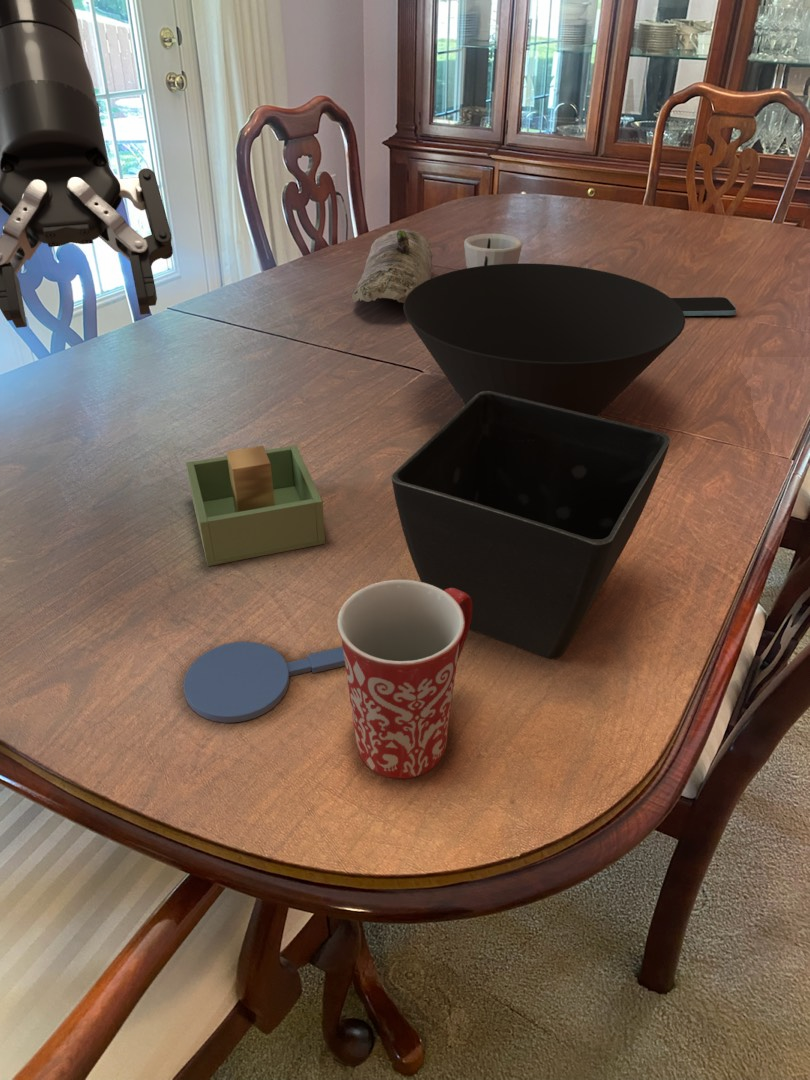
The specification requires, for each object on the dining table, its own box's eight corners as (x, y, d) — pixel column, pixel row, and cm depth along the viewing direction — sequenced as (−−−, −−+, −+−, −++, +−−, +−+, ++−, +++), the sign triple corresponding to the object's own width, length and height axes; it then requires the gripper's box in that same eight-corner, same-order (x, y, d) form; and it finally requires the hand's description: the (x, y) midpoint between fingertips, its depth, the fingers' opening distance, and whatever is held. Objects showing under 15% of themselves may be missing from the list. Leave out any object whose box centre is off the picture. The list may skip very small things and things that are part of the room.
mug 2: (462, 305, 147) (464, 249, 141) (460, 279, 159) (462, 226, 153) (520, 306, 147) (525, 250, 141) (514, 279, 159) (518, 226, 153)
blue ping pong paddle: (191, 734, 66) (189, 727, 66) (179, 660, 73) (178, 654, 73) (400, 683, 71) (400, 677, 71) (371, 618, 78) (370, 612, 78)
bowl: (514, 510, 93) (525, 390, 84) (355, 395, 117) (352, 292, 108) (719, 429, 109) (746, 320, 100) (542, 342, 133) (552, 249, 124)
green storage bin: (207, 566, 85) (199, 523, 81) (193, 503, 94) (185, 462, 91) (325, 543, 88) (322, 501, 85) (299, 485, 97) (296, 444, 94)
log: (349, 272, 133) (366, 204, 155) (347, 336, 141) (363, 262, 163) (433, 281, 133) (438, 212, 155) (426, 344, 141) (431, 269, 163)
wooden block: (241, 532, 89) (232, 469, 84) (235, 513, 92) (226, 451, 87) (277, 525, 90) (270, 462, 85) (270, 506, 93) (263, 445, 88)
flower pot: (580, 701, 69) (609, 542, 59) (388, 628, 77) (385, 476, 67) (642, 579, 83) (674, 433, 73) (473, 528, 90) (482, 388, 80)
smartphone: (642, 297, 148) (726, 296, 147) (642, 303, 148) (725, 302, 148) (651, 312, 142) (738, 310, 141) (650, 318, 143) (737, 316, 142)
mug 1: (405, 811, 60) (406, 683, 53) (321, 747, 65) (310, 620, 57) (506, 715, 68) (519, 590, 60) (424, 664, 73) (426, 542, 65)
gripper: (-78, 79, 55) (-41, 303, 53) (140, 72, 58) (182, 280, 56) (-44, 151, 62) (-11, 350, 60) (148, 140, 66) (186, 327, 64)
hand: (83, 316), depth 58 cm, fingers open, 8 cm apart
